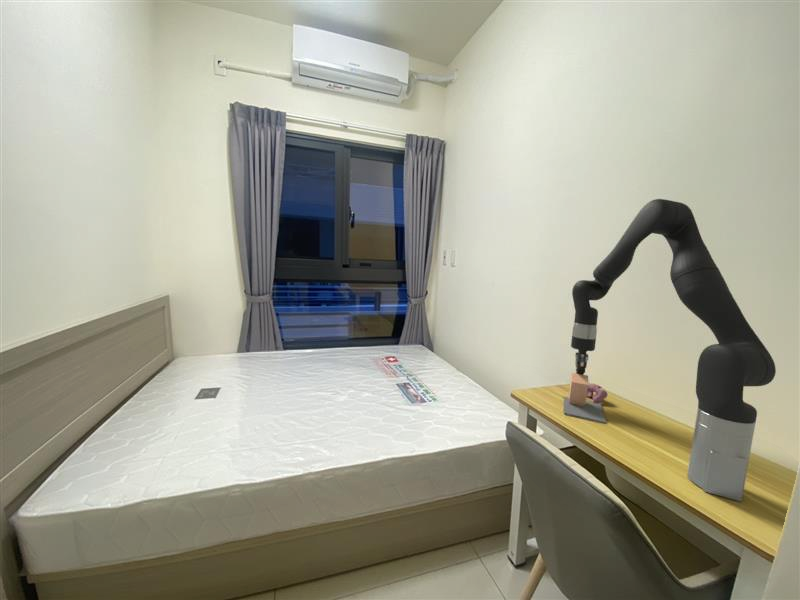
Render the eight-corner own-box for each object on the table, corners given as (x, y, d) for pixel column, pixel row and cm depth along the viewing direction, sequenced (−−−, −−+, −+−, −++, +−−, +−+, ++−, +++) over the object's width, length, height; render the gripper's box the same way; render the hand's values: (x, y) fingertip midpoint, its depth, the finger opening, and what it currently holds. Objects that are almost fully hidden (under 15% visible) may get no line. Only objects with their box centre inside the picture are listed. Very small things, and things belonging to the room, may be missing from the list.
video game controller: (603, 408, 118) (612, 391, 118) (594, 403, 117) (603, 386, 117) (582, 397, 127) (590, 382, 127) (574, 393, 126) (582, 377, 126)
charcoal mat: (605, 423, 102) (606, 422, 102) (563, 414, 107) (564, 412, 107) (600, 405, 116) (600, 403, 116) (563, 398, 122) (563, 396, 122)
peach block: (584, 406, 113) (588, 385, 109) (568, 403, 116) (571, 381, 111) (584, 396, 117) (588, 375, 113) (569, 393, 119) (572, 372, 115)
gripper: (597, 340, 107) (592, 390, 109) (594, 334, 119) (589, 379, 121) (572, 337, 111) (567, 386, 112) (571, 331, 122) (567, 375, 124)
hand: (578, 382), depth 117 cm, fingers closed
